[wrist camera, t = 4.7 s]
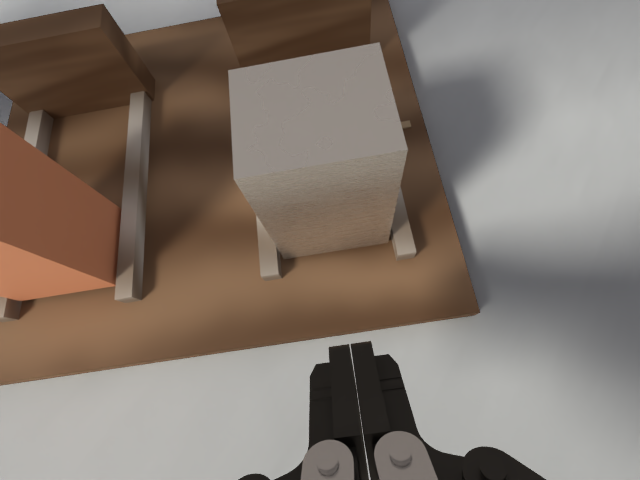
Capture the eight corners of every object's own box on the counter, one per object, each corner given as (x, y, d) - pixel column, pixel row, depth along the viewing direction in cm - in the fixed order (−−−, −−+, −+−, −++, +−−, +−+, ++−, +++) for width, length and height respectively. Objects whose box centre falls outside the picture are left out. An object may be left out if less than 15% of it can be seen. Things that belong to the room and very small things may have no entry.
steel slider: (388, 242, 21) (407, 149, 12) (284, 259, 21) (233, 179, 12) (371, 168, 22) (379, 42, 14) (276, 184, 23) (228, 70, 14)
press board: (474, 315, 20) (530, 284, 13) (-37, 391, 21) (-209, 396, 15) (382, -3, 30) (389, -111, 23) (33, 64, 31) (-53, -20, 24)
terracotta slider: (117, 285, 21) (-40, 225, 13) (20, 301, 22) (-195, 252, 13) (123, 210, 23) (-11, 114, 15) (33, 224, 23) (-148, 139, 15)
